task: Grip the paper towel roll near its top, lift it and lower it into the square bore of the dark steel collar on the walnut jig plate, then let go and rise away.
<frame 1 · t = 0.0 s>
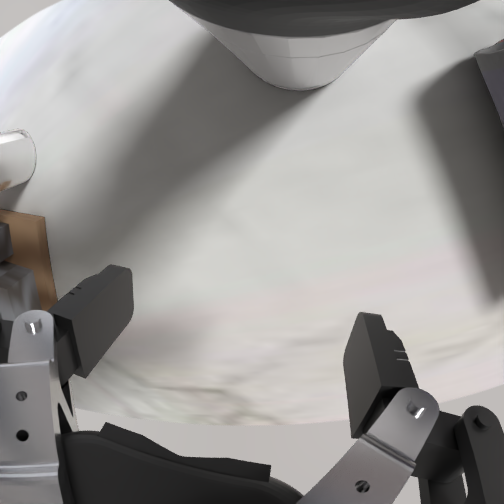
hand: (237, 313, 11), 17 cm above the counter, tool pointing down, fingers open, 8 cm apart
jig: (13, 280, 36), on the counter
paper towel roll: (20, 155, 28), on the counter
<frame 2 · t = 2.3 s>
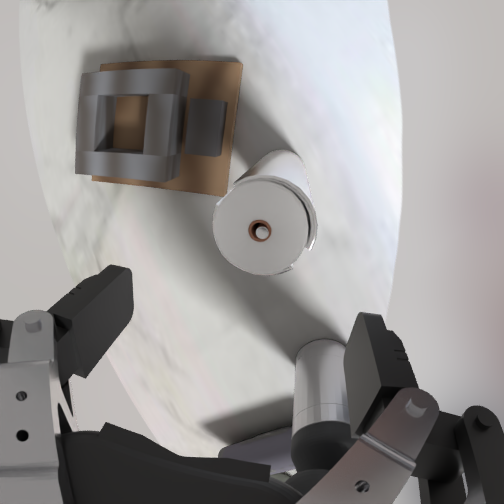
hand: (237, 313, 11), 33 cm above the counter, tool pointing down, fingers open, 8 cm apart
bluetooth speaker: (275, 434, 62), on the counter
jig: (160, 123, 41), on the counter
paper towel roll: (281, 173, 42), on the counter
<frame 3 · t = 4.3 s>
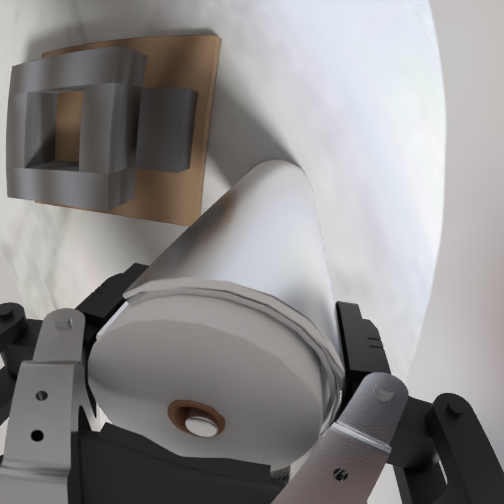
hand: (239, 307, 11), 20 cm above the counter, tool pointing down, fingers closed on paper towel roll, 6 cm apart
jig: (112, 125, 29), on the counter
paper towel roll: (277, 193, 29), on the counter, touching gripper
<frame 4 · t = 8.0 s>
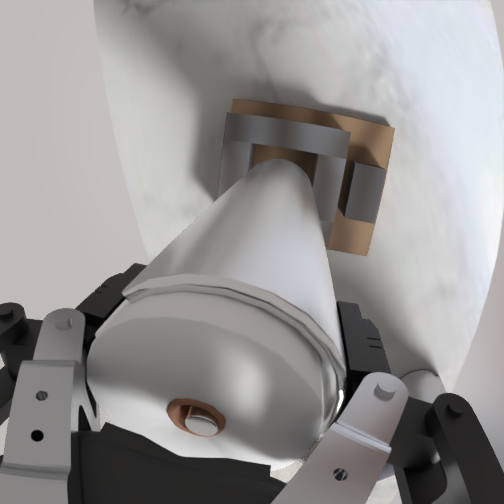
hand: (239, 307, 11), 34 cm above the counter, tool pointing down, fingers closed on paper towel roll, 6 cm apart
jig: (304, 176, 42), on the counter
paper towel roll: (277, 192, 29), point 14 cm above the counter, touching gripper
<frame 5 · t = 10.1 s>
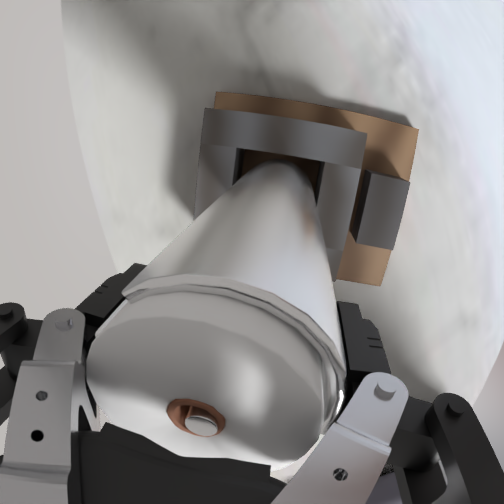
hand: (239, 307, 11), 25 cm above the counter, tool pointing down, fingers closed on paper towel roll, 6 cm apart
bluetooth speaker: (357, 481, 54), on the counter
jig: (306, 189, 34), on the counter
paper towel roll: (277, 192, 29), point 5 cm above the counter, touching gripper
when the fingers open (23 cm above the counter, at t = 11.7 s): paper towel roll drops 1 cm, resting on jig.
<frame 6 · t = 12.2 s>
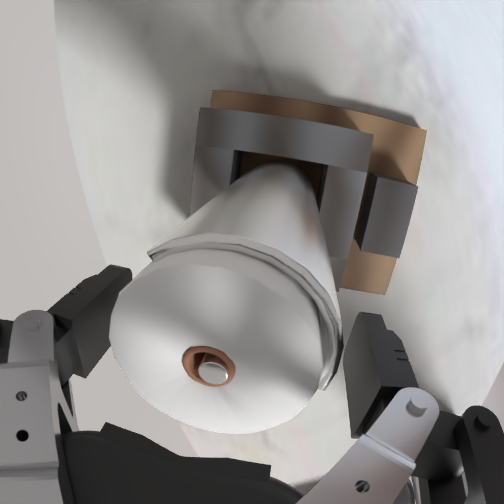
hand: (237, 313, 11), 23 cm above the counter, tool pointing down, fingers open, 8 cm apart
bluetooth speaker: (358, 488, 52), on the counter
jig: (308, 193, 32), on the counter
paper towel roll: (278, 190, 31), point 1 cm above the counter, touching jig
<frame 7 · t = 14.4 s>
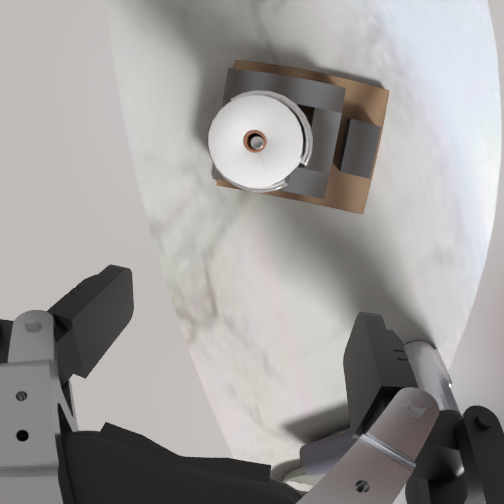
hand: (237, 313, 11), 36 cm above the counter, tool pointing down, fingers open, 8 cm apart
bluetooth speaker: (351, 429, 64), on the counter
jig: (302, 134, 42), on the counter
cake pan: (319, 478, 75), on the counter
paper towel roll: (280, 131, 41), point 1 cm above the counter, touching jig
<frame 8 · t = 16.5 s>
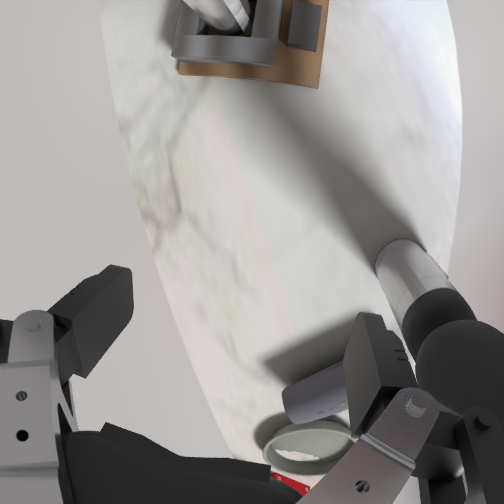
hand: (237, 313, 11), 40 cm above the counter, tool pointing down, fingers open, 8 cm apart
bluetooth speaker: (341, 367, 60), on the counter
jig: (255, 26, 40), on the counter
food packaging: (287, 481, 81), on the counter
cake pan: (311, 442, 71), on the counter
paper towel roll: (235, 22, 39), point 1 cm above the counter, touching jig
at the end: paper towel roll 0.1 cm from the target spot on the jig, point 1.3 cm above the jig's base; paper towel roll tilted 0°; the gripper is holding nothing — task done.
